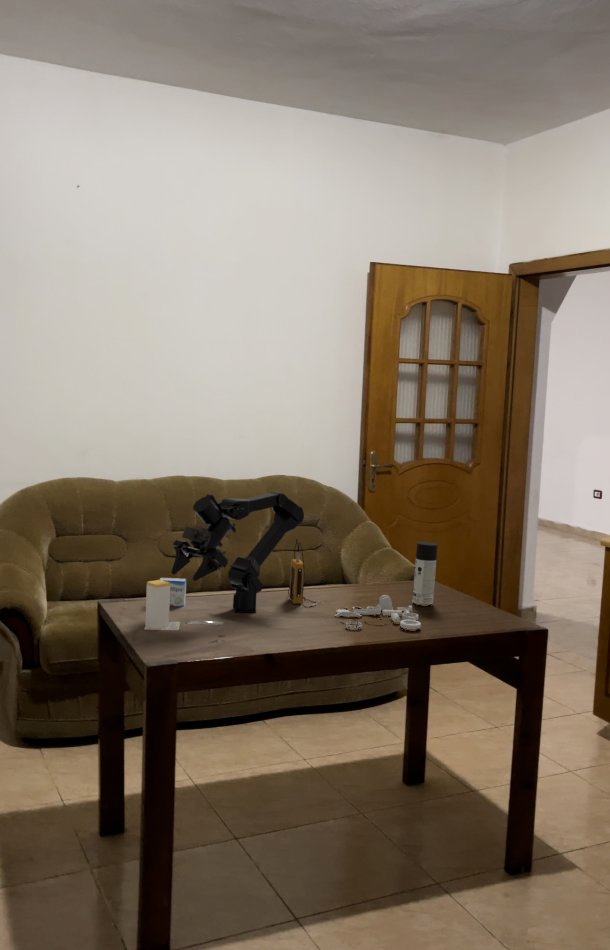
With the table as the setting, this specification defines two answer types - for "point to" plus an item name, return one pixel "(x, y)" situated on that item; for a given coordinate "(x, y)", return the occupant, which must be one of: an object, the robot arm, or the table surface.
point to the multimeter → (297, 580)
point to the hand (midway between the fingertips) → (182, 577)
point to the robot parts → (386, 608)
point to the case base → (171, 626)
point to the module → (157, 603)
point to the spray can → (424, 573)
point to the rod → (205, 622)
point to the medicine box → (176, 591)
